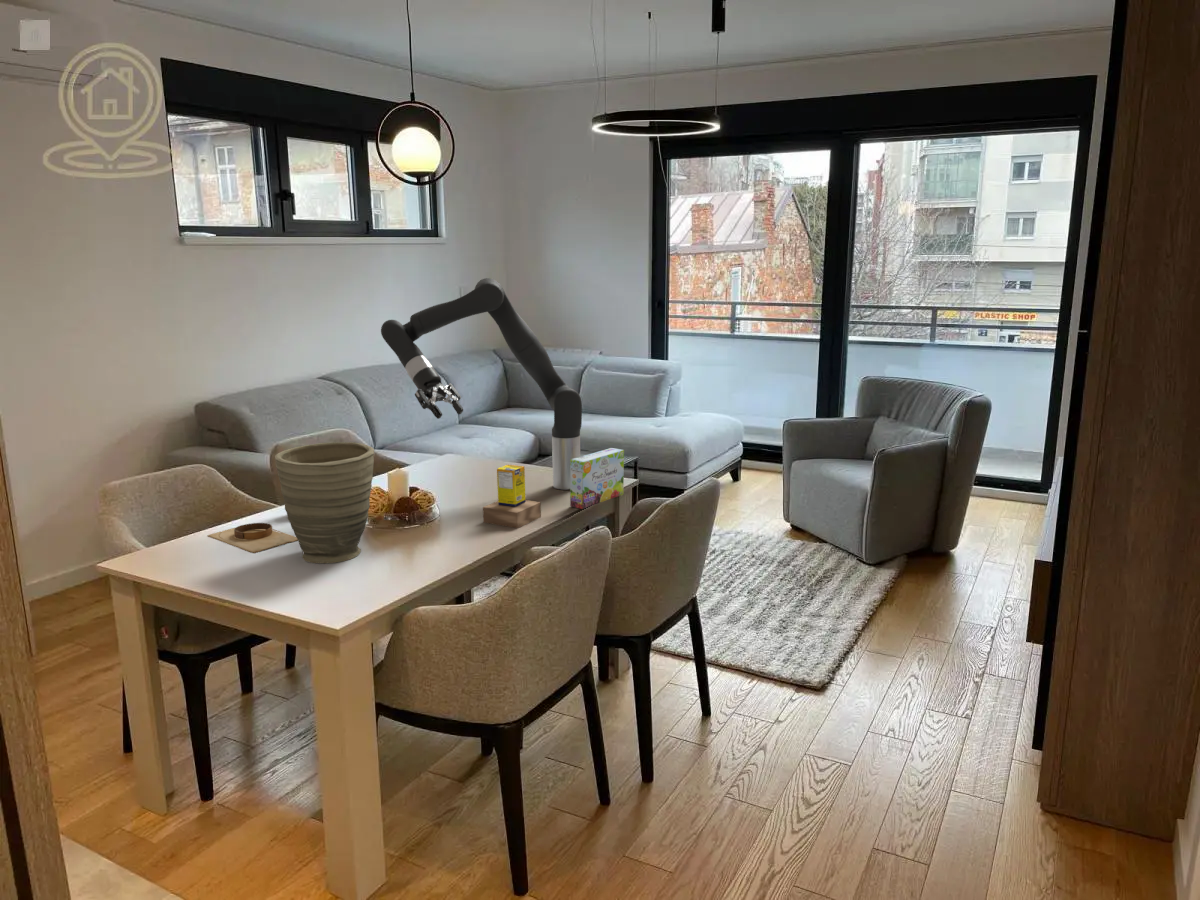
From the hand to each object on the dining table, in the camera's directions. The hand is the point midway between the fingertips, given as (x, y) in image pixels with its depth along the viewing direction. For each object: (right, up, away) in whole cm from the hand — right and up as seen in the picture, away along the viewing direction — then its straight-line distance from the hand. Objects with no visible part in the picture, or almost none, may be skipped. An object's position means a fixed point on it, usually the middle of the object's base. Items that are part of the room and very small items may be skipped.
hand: (450, 414), depth 264 cm
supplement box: (+19, -26, -7) cm, 33 cm away
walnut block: (+19, -31, -7) cm, 38 cm away
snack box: (+44, -27, +11) cm, 53 cm away
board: (-51, -36, -21) cm, 65 cm away
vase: (-25, -38, -35) cm, 57 cm away
